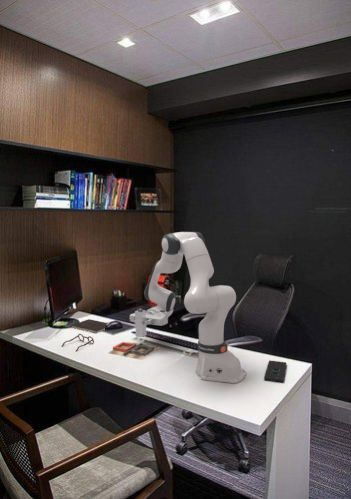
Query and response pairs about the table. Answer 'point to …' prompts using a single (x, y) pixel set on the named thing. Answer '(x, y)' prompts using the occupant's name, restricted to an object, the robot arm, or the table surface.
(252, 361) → the table surface
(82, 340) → the glasses
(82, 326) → the hardcover book
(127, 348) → the socket
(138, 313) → the lock bolt
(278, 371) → the smart home device
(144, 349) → the flat brown board
